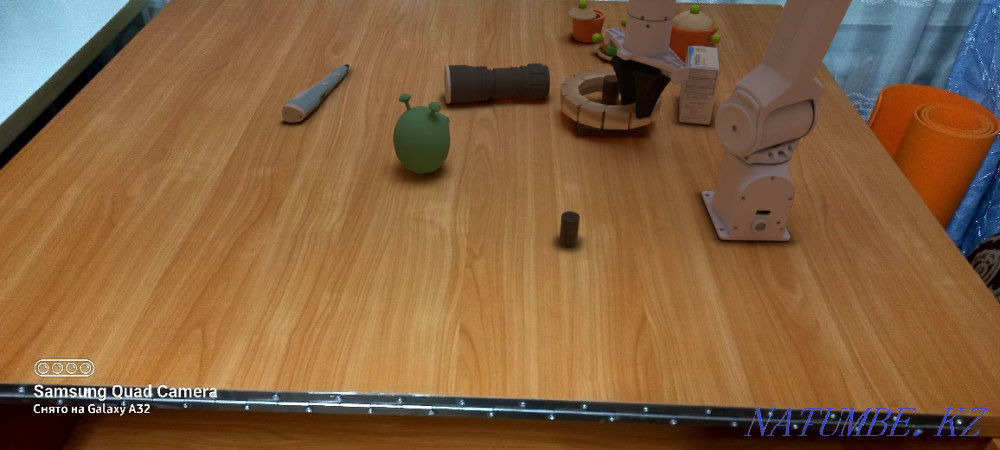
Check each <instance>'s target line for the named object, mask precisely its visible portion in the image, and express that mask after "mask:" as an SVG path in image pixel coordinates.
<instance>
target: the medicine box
mask: <svg viewBox="0 0 1000 450" xmlns="http://www.w3.org/2000/svg"><path fill="white" fill-rule="evenodd" d="M719 52H720V51H719V48H717V47H711V46H709V47H704V46H689V47H688V49H687V54H686V60H685V64H687V65H688V66H690V71H689V76H688V81H685V82H682V83H680V89H679V97H678V100H679V101H678V113H679V114H678V115H679V116H678V122H679V123H685V124H696V125H703V126H704V125H706V126H709V125H710V124H711V122H712V121H711V120H712V114H713V110H714V103H715V99H716V98H715V97H716V93H717V89H718V83H719V79H720V74H721V73H720V72H721V65H720V64H721V63H720V53H719Z"/></svg>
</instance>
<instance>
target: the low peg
mask: <svg viewBox="0 0 1000 450" xmlns="http://www.w3.org/2000/svg"><path fill="white" fill-rule="evenodd" d="M580 219H581V216H580V214H579V213H577V212H576V211H572V210H571V211H570V210H568V211H564V212H562V213H561V216H560V224H559V225H560V226H559V227H560V228H559V238H558V242H559V244H560V245H561V246H563V247H565V248H573V247H575V246H576V245H577V244H578V239H579V229H580V228H579V227H580V221H581V220H580Z"/></svg>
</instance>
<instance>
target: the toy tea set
mask: <svg viewBox="0 0 1000 450" xmlns="http://www.w3.org/2000/svg"><path fill="white" fill-rule="evenodd" d="M577 5H578V6H575V7H572V8H571V9H569V10H568V11H567V14H566V15H567V17H568V18H570V19H571V21H572V22H571V23H572V35H573V38H574V40H576V41H578V42H580V43H586V44H591V43H596V44H597V43H600V42H601V45H600V46H599V47H597V51H596V52H597V53H596V54H597V55H598V56H599V57H600V58H601V59H603V60H605V61H609V62H611V58H612V57H615V56H617V50H619V49H618V48H617V47H615V46H613V45H610V46H608V45H606V44H604V36H605V31H603V27H604V23H605V20H606V13H605V12H604V11H602V10H600V9H596V8H590V7H588V1H586V0H579V1H578V3H577ZM626 19H627V17H626V18H625V17H624V18H623V19H621V21H620V25H621V27H623V28H625V27H626ZM602 31H603V33H602ZM718 31H719V26H718V24H715V22H714V21H713V20H712V19H711V18H710V17H709V16H708V15H707V14H706V13H704V12H702V11H701V8H700V6H699V5H698V4H692V5H691V6H690V9H689V10H685V11H682V12H680V13H678V14H676V16H674V19H673V25H672V31H671V37H670V43H669V48H670V49H671V50H672V51H673V52H674V53H675V54H676V55H677V56H678V57H679V58H680V59H681V61H683V62H684V63H685V60H686V54H687V49H688V47H689V46H704V47H711V44H712V43H713V44H719V43H720V42H721V39H722V37H721V36H720V34H718V33H717V32H718Z"/></svg>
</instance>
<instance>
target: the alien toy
mask: <svg viewBox="0 0 1000 450" xmlns="http://www.w3.org/2000/svg"><path fill="white" fill-rule="evenodd" d="M411 98H412V95H411V94H410V93H401V94H400V96H399V97H398V102H401V103H404V105H405V108H406V110H405V111H404V112H403V113H402V114H401V115H400V116H399V117H398V119H397V121H396V123H395V125H394V130H393V134H392V141H393V142H392V143H393V149H394V152H395V155H396V157H397V159H398V161H399V162H400V163H401V165H402V166H403V167H404V168H405V169H406V170H408V171H410V172H412V173H415V174H419V175H423V174H424V175H425V174H430V173H433V172H435V171H437V170H438V169H439V168H440V167H442V165H443V164H444V163H445V162H446V160H447V158H448V156H449V152H450V149H451V133H450V117H449V116H447V115H445V114H442V113H441V112H440V111H441V110H442V105H441V104H439V103H438V102H437V101H432V102H429V103H428V106H425V105H424V106H423V105H418V106H413V107H411V105H410V103H409V102H410V100H411Z"/></svg>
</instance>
